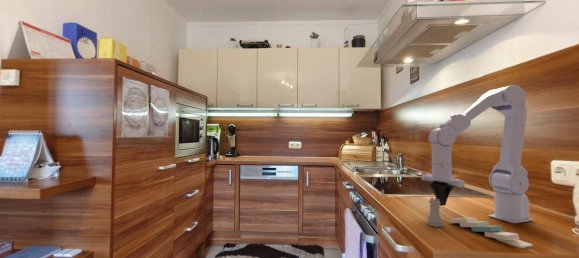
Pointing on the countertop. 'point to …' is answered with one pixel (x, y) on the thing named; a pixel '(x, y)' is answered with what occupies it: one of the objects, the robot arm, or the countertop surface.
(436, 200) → the rook chess piece
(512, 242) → the domino
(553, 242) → the countertop surface
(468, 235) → the countertop surface
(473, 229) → the domino
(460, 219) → the domino
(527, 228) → the countertop surface
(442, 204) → the robot arm
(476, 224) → the domino
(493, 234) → the domino
